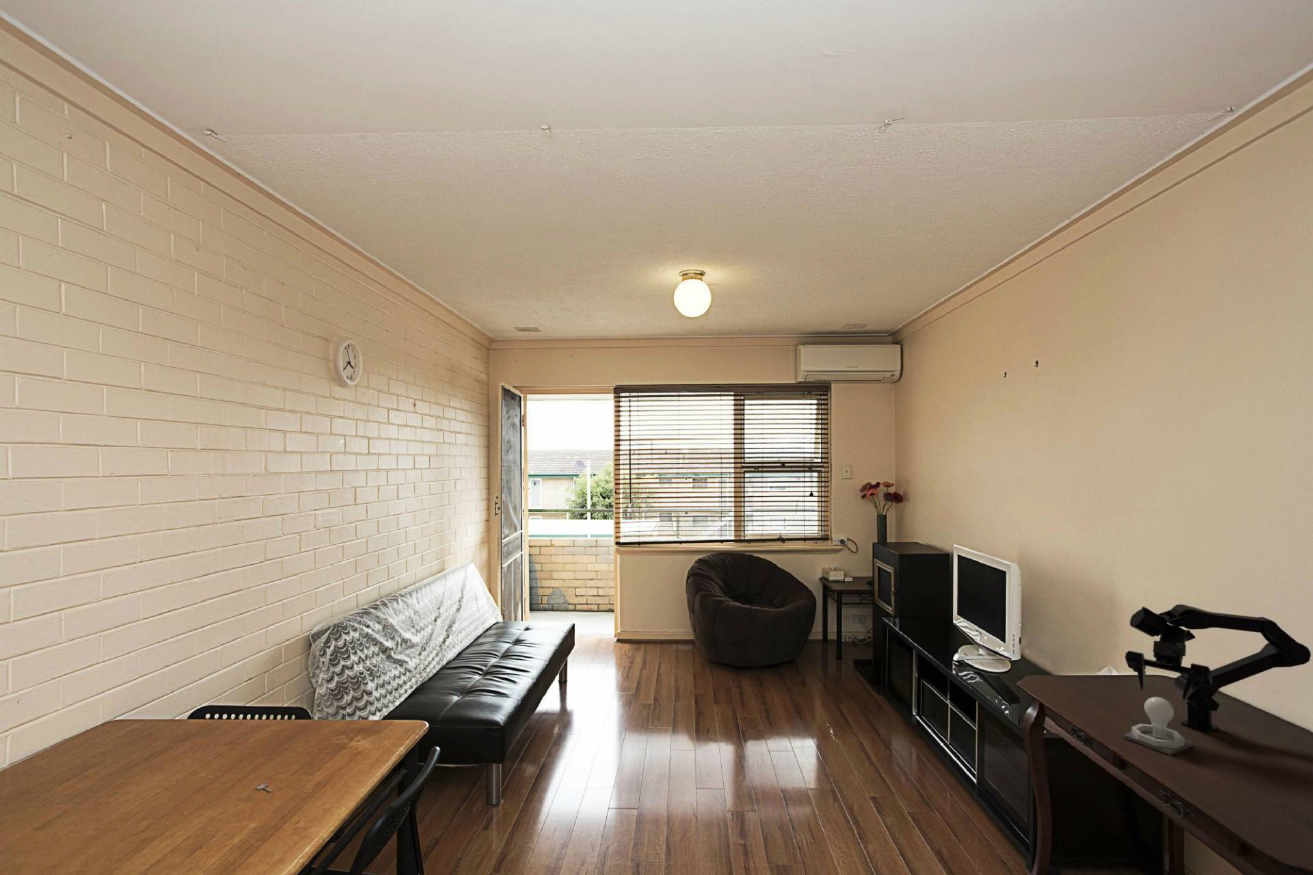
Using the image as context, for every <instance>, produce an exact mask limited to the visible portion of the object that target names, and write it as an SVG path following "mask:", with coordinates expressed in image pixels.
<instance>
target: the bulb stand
mask: <svg viewBox="0 0 1313 875" xmlns="http://www.w3.org/2000/svg"><path fill="white" fill-rule="evenodd" d="M1124 738H1126V739H1125V740H1127V739H1128V740H1127V741H1130V740H1132V741H1134V742H1133V743H1135V742H1137V743H1136V744H1138V743H1139V744H1138V745H1140V744H1142V745H1141V746H1143V745H1145V746H1144V747H1146V746H1147V747H1146V748H1149V747H1150V748H1149V749H1152V750H1154V749H1156V750H1155V751H1157V750H1158V751H1157V752H1159V751H1161V752H1160V753H1162V752H1164V753H1163V754H1165V753H1167V754H1169V755H1168V756H1172V754H1173V753H1175V754H1178V753H1179V751H1180V752H1181V751H1184V750H1186V749H1188V748H1191V747H1193V742H1192V741H1190V740H1188V739H1186V738H1184V737H1183V736H1182V735H1181V734H1180V733H1179V732H1178V731H1176V730H1173V729H1170V728H1167V727H1166V729H1165V738H1164V739H1157V738H1156V737H1154V736H1153V726H1152V724H1146V723H1138V724H1135V725H1134V726H1131V731H1130V732H1127V733H1125V734H1123V739H1124ZM1132 741H1131V742H1132ZM1167 754H1166V755H1167ZM1173 755H1174V754H1173Z"/></svg>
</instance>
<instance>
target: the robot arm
mask: <svg viewBox="0 0 1313 875" xmlns="http://www.w3.org/2000/svg"><path fill="white" fill-rule="evenodd" d="M1129 625H1130V627H1131V628H1133V629H1136V630H1138V631H1139V632H1141V633H1143V634H1145V635H1147V636H1149V637H1151V638H1154V637H1159V640H1153V646H1152V653H1153V654H1152V655H1153V658H1154V659H1155V660H1153V659H1150V658H1149V659H1148V658H1146V657H1145V653H1143V652H1140V651H1139V652H1137V651H1133V650H1127V651H1126V652H1125V656H1124V659H1125V662H1126V664H1127V667H1128V668H1129V669H1132V671H1133V672H1135V673H1137V676H1138V681H1139V687H1140V690H1141V691H1144V689H1145V684H1146V676H1147V675H1146V674H1147V672H1146V668H1147V667H1150V668H1154V669H1160V670H1164V671H1168V672H1171V673H1172V672H1173V673H1178V674H1179V675H1178V676H1176V677H1175V678H1174V682H1173V683H1174V685H1173V686H1174V688H1175V690H1176V691H1177V692H1178V693H1179V694H1181V697H1182V700H1183V701H1186V719H1185V720H1183V721H1181V722H1180V724H1181V725H1183V726H1185V727H1190V728H1192V729H1195V730H1198V731H1201V732H1203V733H1210V732H1212V731H1216V730H1217V729H1219V725H1217V724H1216V725H1215V724H1213V723H1214V720H1213V719H1214V716H1213V714H1214V712H1217V711H1218V710H1219V708H1220V704H1219V703H1218V701H1216V700H1215V699H1214V698H1213V697H1214V696H1215V695H1216V694H1217V693H1218V691H1219V690H1220V689H1222V688H1225V687H1227V686H1230V685H1232V684H1234V683H1235V684H1236V683H1237V682H1240V681H1242V680H1245V679H1248V678H1252V677H1253V676H1256V675H1258V674H1261V673H1264V672H1266V671H1269V670H1272V669H1275V668H1292V667H1298V666H1302V665H1306V664H1307V663H1309V662H1310V661H1311V656H1312V652H1311V651H1310V648H1309V647H1307V646H1306V645H1304V643H1300V642H1298V641H1297V640H1295V638H1293V637H1292V636H1291V635H1289V634H1288V633H1287V632H1286V631H1285V630H1284V629H1283V628H1281V627H1280V626H1279V625H1278V624H1277V622H1275V621H1274V620H1271V619H1269V618H1267V617H1264V616H1250V615H1249V616H1248V615H1241V614H1239V615H1238V614H1232V613H1231V614H1230V613H1223V612H1222V613H1221V612H1214V611H1213V612H1212V611H1207V610H1204V609H1201V608H1199V607H1194V606H1192V605H1186V604H1181V603H1179V604H1175V605H1174V606H1173V607H1172V608H1171V609H1168V610H1167V611H1166V610H1165V611H1162V612H1160V613H1156V612H1153V611H1152V610H1151V609H1149V608H1147V607H1146V606H1142V607H1141V609H1139V610H1137V611H1135V612H1134V613H1133V614H1132V615H1131V617H1130V620H1129ZM1182 627H1183V628H1182ZM1184 628H1185V629H1184ZM1212 628H1213V629H1214V628H1215V629H1217V628H1218V629H1224V630H1225V629H1226V630H1233V631H1242V632H1249V633H1251V632H1252V633H1259V634H1260V635H1261V636H1262V638H1263V639H1264V640H1266V642H1267V643H1266V644H1265V645H1263V647H1262V648H1261V650H1259V651H1258V652H1255V653H1252V654H1250V655H1248V656H1246V657H1241V658H1240V659H1237V660H1235V661H1232V662H1229V663H1227V664H1224V665H1222V666H1219V667H1216V668H1214V669H1211V668H1210V667H1209V666H1207V665H1202V664H1199V663H1198V664H1197V663H1194V662H1193V663H1191V664H1190V666H1189V667H1187V666H1183V665H1182V663H1183V660H1184V657H1186V654H1187V644H1186V642H1189V641H1193V640H1194V639H1196V636H1195V635H1194V633H1192V632H1191V630H1192V631H1193V630H1207V629H1212Z"/></svg>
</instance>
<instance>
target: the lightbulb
mask: <svg viewBox="0 0 1313 875" xmlns="http://www.w3.org/2000/svg"><path fill="white" fill-rule="evenodd" d="M1143 708H1144V711H1145V714H1146V715H1147V717H1148V718H1149V720H1150V723H1151V724H1150V725H1152V726H1153V736H1154V737H1156V738H1157V739H1164V738H1165V729H1166V728H1167V727H1168V724H1169V722H1170V721H1171V720H1173V718H1174V715H1175V711H1174V708H1173V705H1172V704H1171V703H1170V702H1169V701H1168V700H1167V699H1165V698H1162V697H1159V696H1152V697H1150V698H1147V699H1146V701H1145V702H1144V705H1143Z"/></svg>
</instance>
